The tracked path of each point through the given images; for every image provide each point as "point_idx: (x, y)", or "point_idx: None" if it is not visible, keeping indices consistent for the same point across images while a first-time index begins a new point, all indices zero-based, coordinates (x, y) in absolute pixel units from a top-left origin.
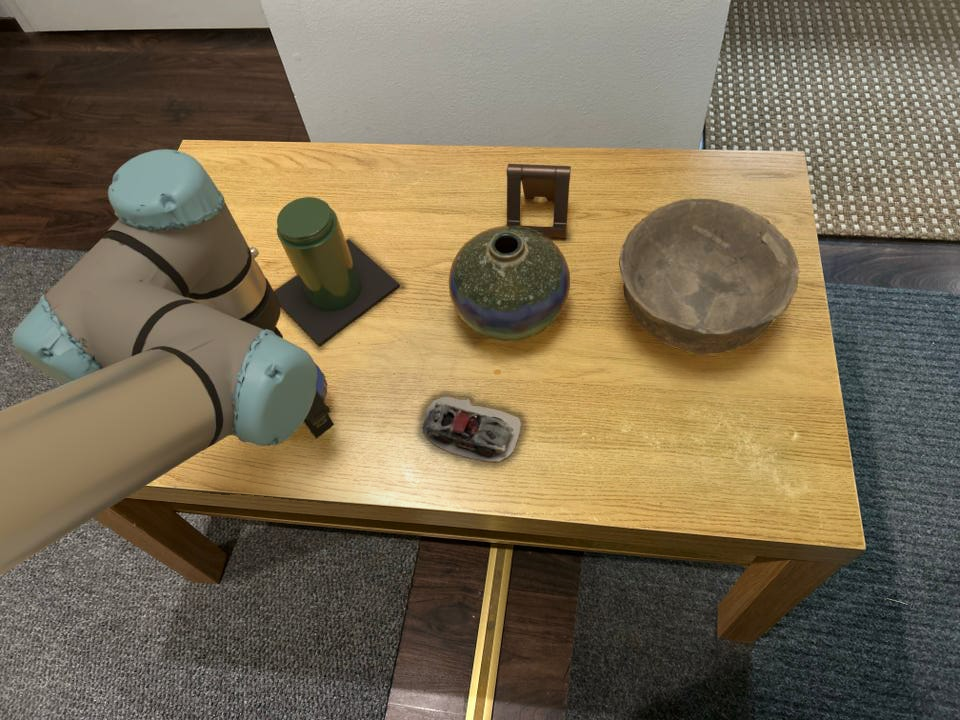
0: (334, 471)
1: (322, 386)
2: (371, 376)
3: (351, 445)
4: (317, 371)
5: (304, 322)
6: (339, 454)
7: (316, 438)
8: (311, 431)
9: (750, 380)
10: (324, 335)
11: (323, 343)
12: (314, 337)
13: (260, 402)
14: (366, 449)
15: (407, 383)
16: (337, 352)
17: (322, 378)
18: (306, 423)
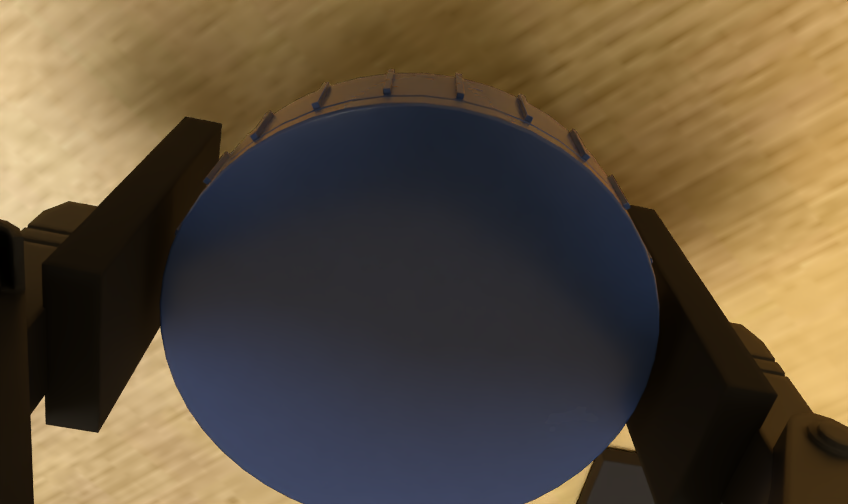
0: (44, 21)
1: (220, 444)
2: None
3: (100, 177)
4: (329, 496)
5: None
6: (104, 108)
7: (184, 120)
8: (153, 150)
9: None
10: (608, 499)
11: (593, 465)
12: (643, 475)
13: None
14: (29, 200)
15: (156, 496)
16: None
17: (263, 480)
18: (113, 196)
